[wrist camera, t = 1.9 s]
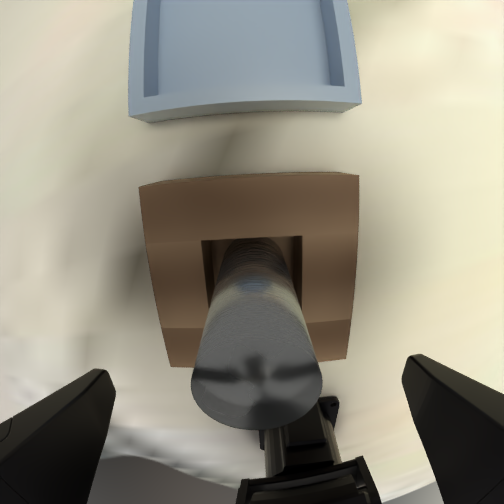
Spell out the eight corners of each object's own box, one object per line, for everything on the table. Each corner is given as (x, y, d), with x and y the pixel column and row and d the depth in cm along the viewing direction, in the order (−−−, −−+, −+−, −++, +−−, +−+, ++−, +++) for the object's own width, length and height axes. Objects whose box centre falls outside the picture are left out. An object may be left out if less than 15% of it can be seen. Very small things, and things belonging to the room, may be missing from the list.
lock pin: (284, 290, 17) (316, 425, 8) (225, 293, 17) (201, 430, 8) (283, 232, 16) (328, 334, 7) (220, 235, 16) (179, 340, 7)
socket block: (331, 327, 19) (345, 358, 15) (182, 334, 19) (170, 367, 15) (337, 172, 16) (359, 175, 12) (160, 181, 16) (138, 186, 12)
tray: (343, 112, 15) (361, 103, 12) (148, 122, 15) (128, 116, 12) (318, -48, 11) (327, -72, 8) (155, -39, 11) (144, -61, 8)
